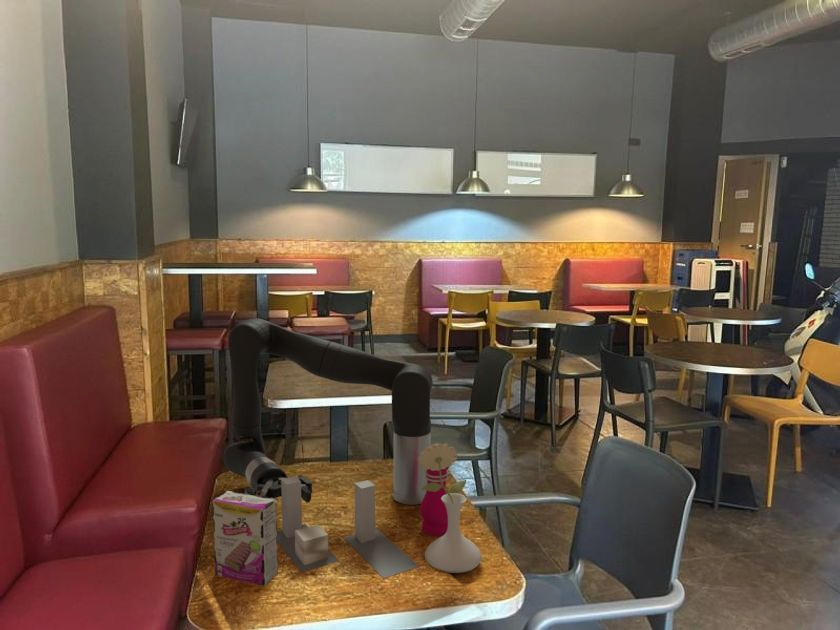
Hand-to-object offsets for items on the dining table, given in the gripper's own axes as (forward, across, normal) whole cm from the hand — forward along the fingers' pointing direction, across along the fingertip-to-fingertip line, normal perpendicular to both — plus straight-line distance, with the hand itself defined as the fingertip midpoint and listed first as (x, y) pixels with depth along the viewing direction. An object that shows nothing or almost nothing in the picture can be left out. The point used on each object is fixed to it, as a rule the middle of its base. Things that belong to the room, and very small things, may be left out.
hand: (290, 502), depth 133 cm
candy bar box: (+11, -13, +8) cm, 19 cm away
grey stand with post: (+7, 0, +8) cm, 11 cm away
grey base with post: (+17, +12, +8) cm, 23 cm away
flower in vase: (+26, +23, +8) cm, 36 cm away
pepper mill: (+13, +29, +8) cm, 33 cm away
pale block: (+12, 0, +7) cm, 14 cm away
